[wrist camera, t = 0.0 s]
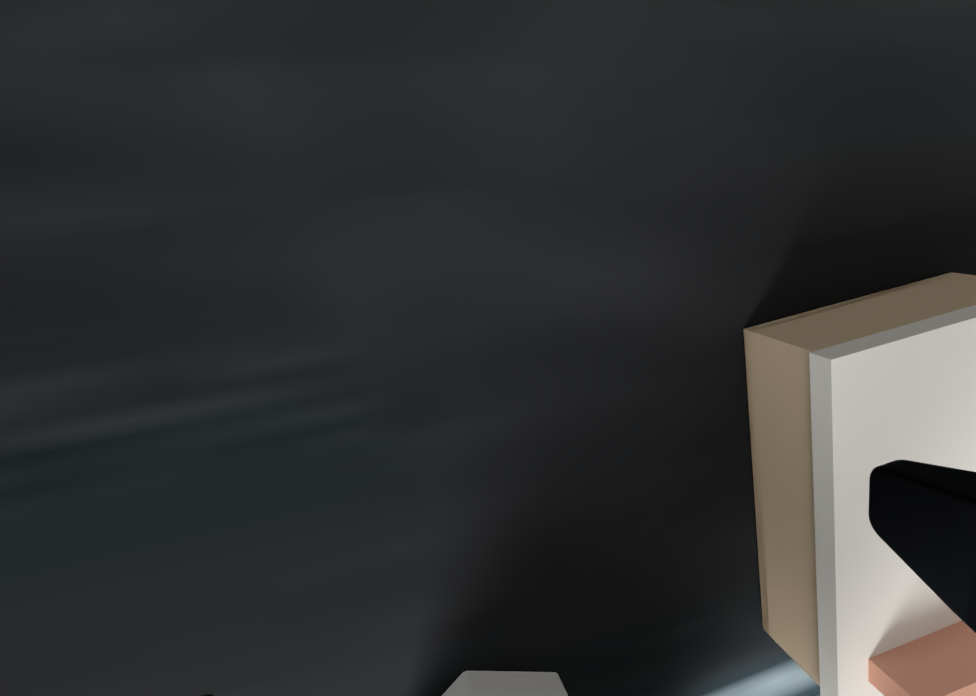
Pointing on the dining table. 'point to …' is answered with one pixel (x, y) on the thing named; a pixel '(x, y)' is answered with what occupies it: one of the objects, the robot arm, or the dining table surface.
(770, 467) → the beige open tray
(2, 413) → the dining table surface
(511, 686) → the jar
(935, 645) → the lid
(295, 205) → the dining table surface
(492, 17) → the dining table surface
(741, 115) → the dining table surface
